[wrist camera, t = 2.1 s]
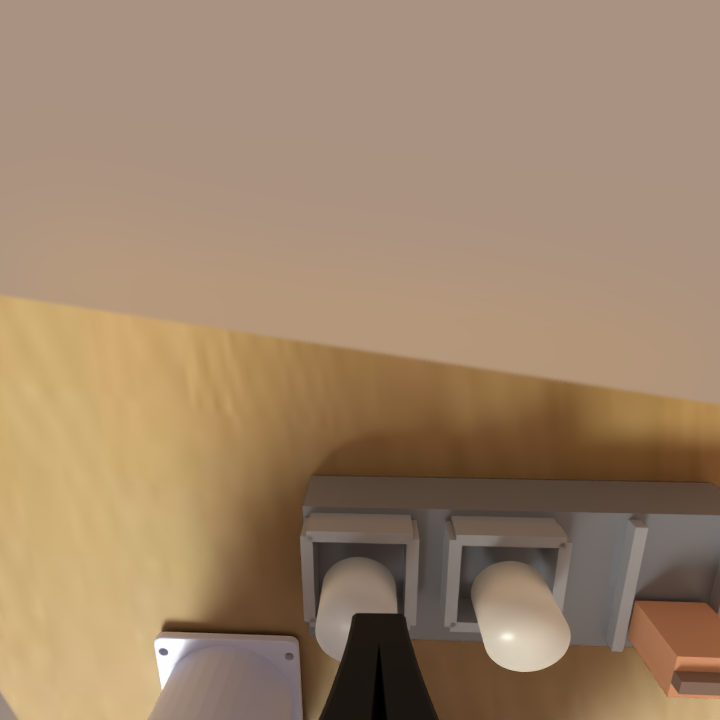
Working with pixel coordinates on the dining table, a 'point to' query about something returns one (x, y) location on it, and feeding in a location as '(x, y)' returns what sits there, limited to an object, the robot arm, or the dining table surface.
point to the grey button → (351, 600)
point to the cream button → (519, 617)
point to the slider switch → (679, 646)
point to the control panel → (517, 545)
